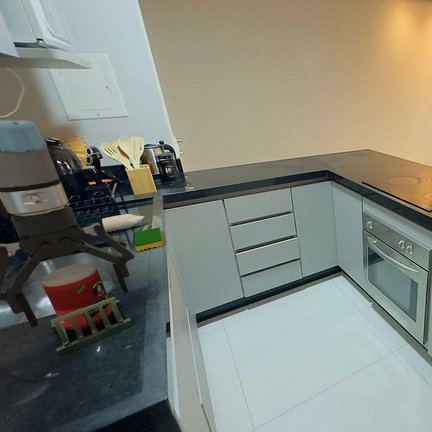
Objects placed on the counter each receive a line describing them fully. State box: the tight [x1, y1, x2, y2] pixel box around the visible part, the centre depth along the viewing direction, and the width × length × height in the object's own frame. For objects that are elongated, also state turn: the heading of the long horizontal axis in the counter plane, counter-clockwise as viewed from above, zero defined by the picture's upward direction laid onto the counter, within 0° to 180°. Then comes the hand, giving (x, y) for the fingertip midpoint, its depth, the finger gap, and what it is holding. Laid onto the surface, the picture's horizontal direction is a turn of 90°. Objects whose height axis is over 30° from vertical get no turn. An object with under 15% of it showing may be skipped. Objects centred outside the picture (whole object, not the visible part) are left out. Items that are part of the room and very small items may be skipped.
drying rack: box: [50, 296, 133, 358], centre depth 61 cm, size 11×11×8 cm
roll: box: [101, 213, 145, 234], centre depth 112 cm, size 6×12×6 cm, turn 127°
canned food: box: [40, 262, 113, 330], centre depth 60 cm, size 8×8×11 cm
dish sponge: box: [134, 227, 164, 252], centre depth 102 cm, size 7×14×2 cm, turn 38°
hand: (83, 306), depth 61 cm, fingers open, 13 cm apart
